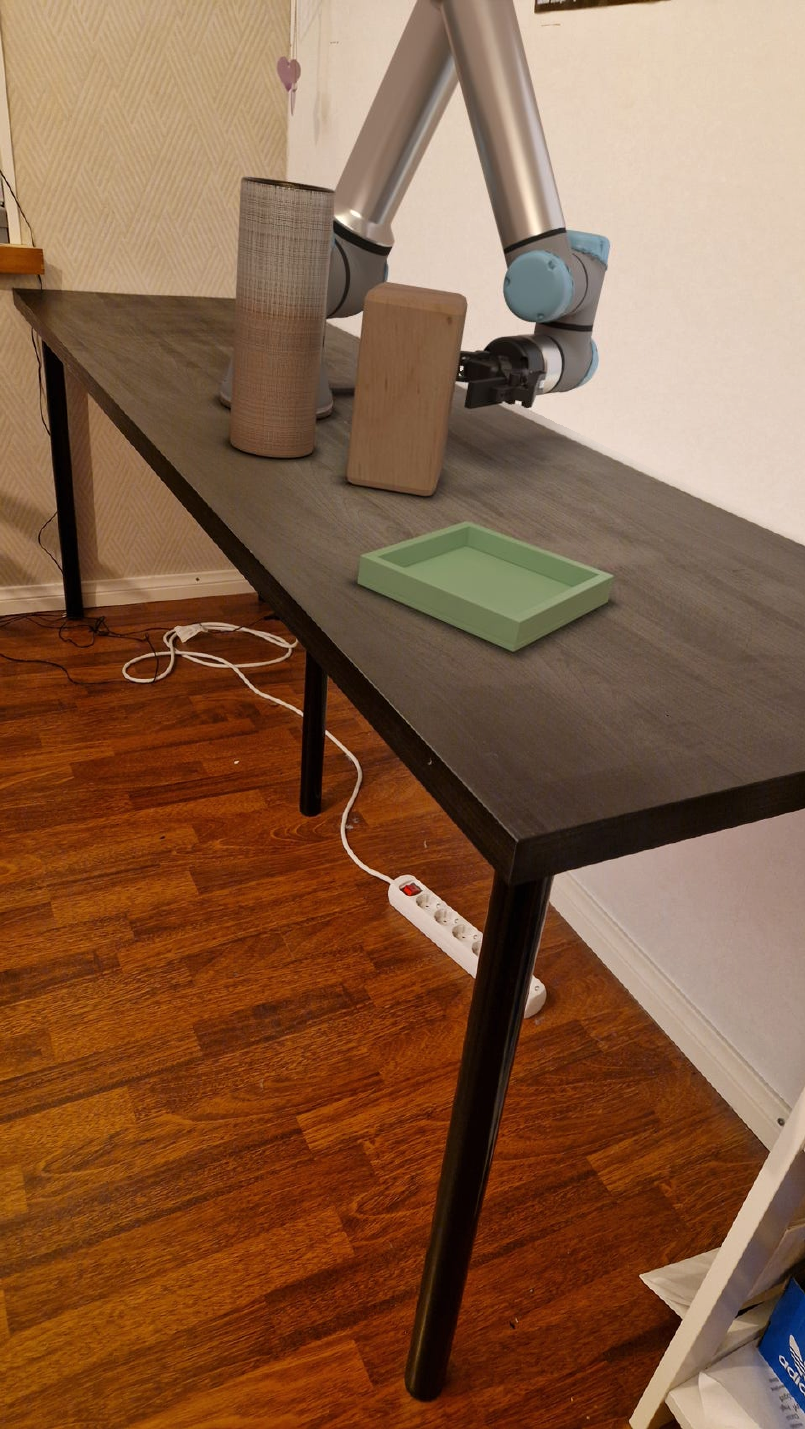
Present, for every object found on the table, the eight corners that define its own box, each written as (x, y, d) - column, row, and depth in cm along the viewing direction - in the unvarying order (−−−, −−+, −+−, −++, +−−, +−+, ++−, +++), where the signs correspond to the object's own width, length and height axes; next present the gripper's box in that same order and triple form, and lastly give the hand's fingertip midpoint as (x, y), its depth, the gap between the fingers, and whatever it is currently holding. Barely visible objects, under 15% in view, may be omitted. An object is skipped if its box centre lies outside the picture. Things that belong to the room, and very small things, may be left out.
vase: (212, 443, 113) (221, 174, 99) (264, 431, 121) (279, 179, 107) (279, 464, 109) (299, 188, 95) (329, 450, 117) (353, 192, 103)
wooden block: (433, 500, 105) (463, 305, 95) (343, 485, 106) (364, 289, 96) (441, 475, 114) (469, 294, 104) (358, 461, 114) (378, 279, 104)
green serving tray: (462, 546, 94) (467, 520, 93) (607, 602, 86) (614, 575, 85) (356, 583, 82) (360, 555, 81) (513, 652, 75) (519, 622, 73)
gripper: (599, 422, 117) (507, 444, 102) (434, 375, 129) (330, 388, 113) (614, 358, 113) (520, 371, 98) (443, 315, 125) (336, 321, 110)
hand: (418, 380), depth 106 cm, fingers open, 13 cm apart
